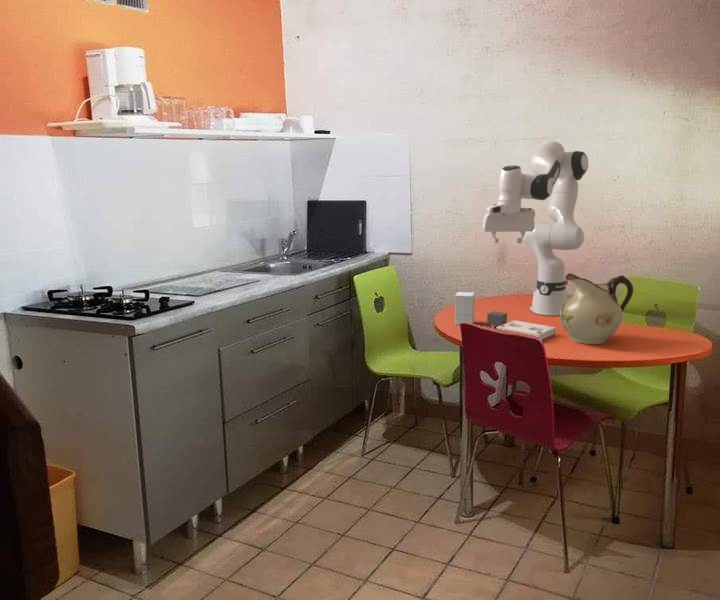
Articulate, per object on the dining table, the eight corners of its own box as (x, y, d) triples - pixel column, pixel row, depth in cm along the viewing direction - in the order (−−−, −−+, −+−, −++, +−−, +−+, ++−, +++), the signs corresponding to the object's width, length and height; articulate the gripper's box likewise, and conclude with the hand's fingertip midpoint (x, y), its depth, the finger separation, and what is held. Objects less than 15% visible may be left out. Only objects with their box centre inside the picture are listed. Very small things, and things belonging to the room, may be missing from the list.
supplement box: (474, 321, 296) (475, 292, 293) (472, 326, 289) (473, 295, 286) (456, 320, 297) (457, 291, 295) (454, 325, 290) (455, 295, 288)
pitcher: (547, 340, 266) (551, 275, 261) (575, 328, 283) (580, 267, 278) (604, 352, 251) (610, 283, 246) (631, 339, 268) (637, 274, 263)
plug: (493, 325, 289) (493, 311, 288) (506, 327, 285) (507, 313, 284) (487, 327, 286) (487, 313, 284) (500, 330, 282) (500, 315, 280)
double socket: (513, 327, 286) (514, 319, 285) (555, 334, 274) (555, 326, 274) (496, 334, 276) (496, 325, 275) (538, 342, 264) (538, 333, 263)
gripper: (532, 207, 281) (531, 241, 284) (482, 207, 279) (480, 242, 282) (537, 208, 275) (536, 243, 277) (486, 208, 273) (484, 244, 276)
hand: (507, 243), depth 280 cm, fingers open, 8 cm apart
